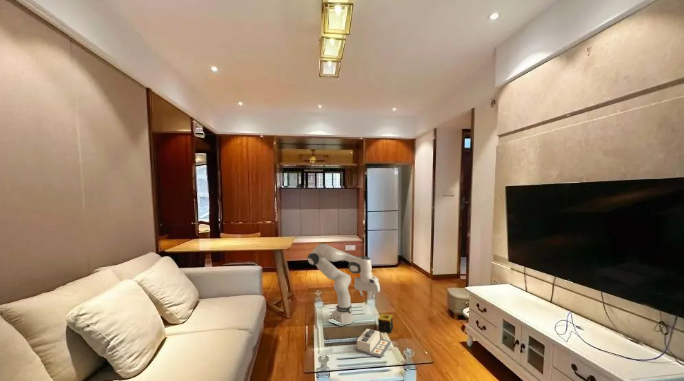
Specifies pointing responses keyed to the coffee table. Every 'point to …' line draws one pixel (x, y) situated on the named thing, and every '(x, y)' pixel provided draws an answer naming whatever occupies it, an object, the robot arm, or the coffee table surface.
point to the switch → (368, 334)
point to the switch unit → (372, 344)
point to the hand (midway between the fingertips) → (367, 296)
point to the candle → (385, 323)
